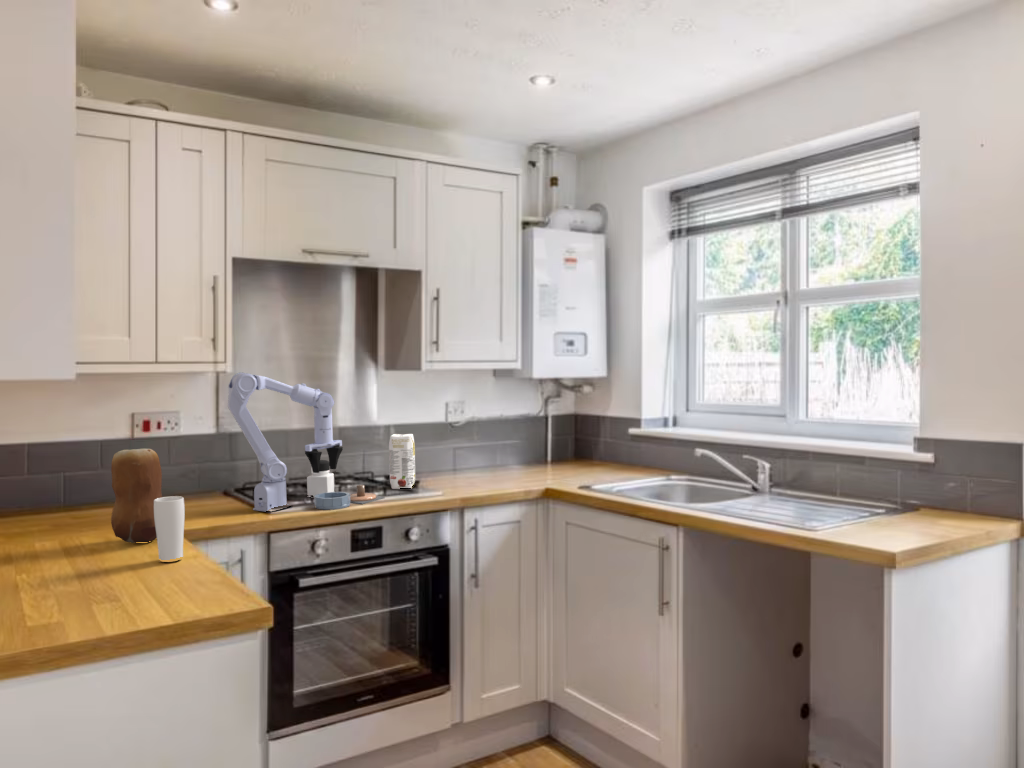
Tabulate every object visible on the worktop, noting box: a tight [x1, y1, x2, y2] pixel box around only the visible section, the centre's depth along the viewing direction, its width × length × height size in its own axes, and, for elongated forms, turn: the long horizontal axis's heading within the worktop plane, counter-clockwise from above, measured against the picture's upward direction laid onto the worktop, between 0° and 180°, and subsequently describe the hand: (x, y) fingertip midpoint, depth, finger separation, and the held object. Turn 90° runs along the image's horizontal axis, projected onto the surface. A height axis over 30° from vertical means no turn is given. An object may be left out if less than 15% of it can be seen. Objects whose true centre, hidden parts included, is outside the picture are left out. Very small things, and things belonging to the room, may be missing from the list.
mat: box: [350, 495, 386, 505], centre depth 257 cm, size 11×11×1 cm
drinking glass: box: [154, 495, 186, 560], centre depth 186 cm, size 7×7×15 cm
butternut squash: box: [110, 448, 163, 544], centre depth 204 cm, size 14×13×25 cm
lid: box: [350, 484, 377, 501], centre depth 257 cm, size 10×10×4 cm
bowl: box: [313, 491, 351, 511], centre depth 247 cm, size 11×11×4 cm
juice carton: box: [388, 433, 416, 490], centre depth 277 cm, size 8×9×19 cm
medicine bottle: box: [306, 459, 335, 496], centre depth 265 cm, size 7×7×12 cm
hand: (324, 470), depth 252 cm, fingers open, 7 cm apart
